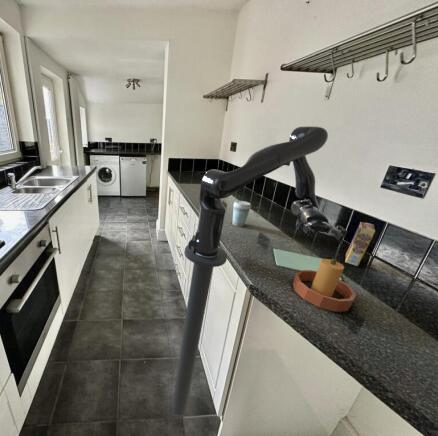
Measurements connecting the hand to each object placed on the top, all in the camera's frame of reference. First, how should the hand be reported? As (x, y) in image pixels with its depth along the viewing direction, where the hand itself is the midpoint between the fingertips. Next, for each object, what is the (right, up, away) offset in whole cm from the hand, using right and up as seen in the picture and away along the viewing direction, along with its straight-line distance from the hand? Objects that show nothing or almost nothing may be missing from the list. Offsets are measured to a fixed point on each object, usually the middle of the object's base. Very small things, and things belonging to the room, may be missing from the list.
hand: (325, 235), depth 77 cm
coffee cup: (-11, +2, +45) cm, 47 cm away
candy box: (+23, -11, +16) cm, 30 cm away
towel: (+1, -11, +12) cm, 16 cm away
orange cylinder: (-6, -18, -5) cm, 19 cm away
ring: (-6, -18, -5) cm, 19 cm away
